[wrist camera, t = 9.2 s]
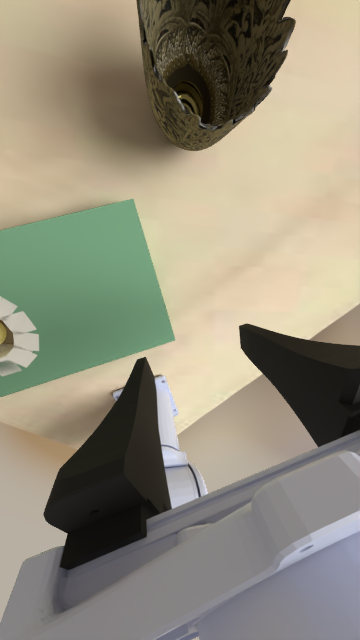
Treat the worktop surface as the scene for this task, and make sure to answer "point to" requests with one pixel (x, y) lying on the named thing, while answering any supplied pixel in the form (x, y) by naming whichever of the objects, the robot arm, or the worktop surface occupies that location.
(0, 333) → the ball
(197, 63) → the cup
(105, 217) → the green rectangular slab
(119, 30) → the worktop surface
